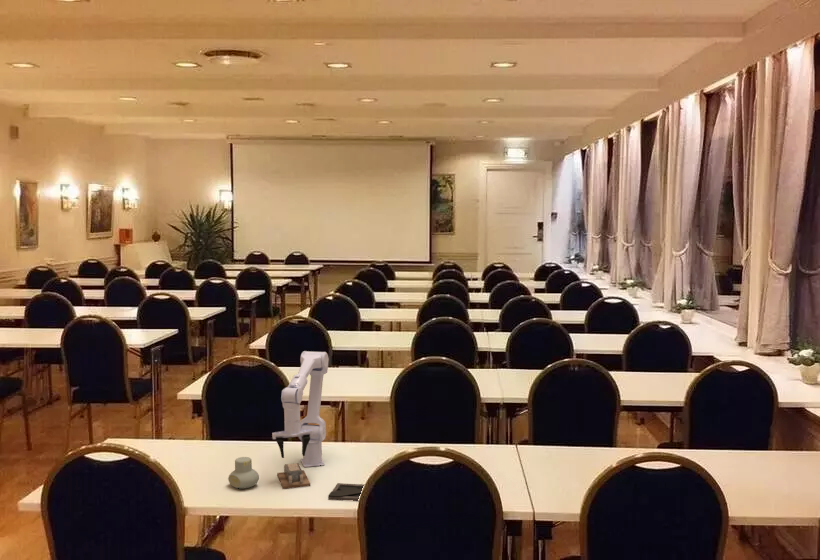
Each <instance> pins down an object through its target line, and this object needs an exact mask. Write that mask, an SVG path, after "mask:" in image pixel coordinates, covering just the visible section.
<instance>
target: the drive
mask: <svg viewBox="0 0 820 560" xmlns="http://www.w3.org/2000/svg"><path fill="white" fill-rule="evenodd" d="M284 465H285V476H286V478H287V480H288V483H289V476H292V483H293V482H300V475H301V474H302V470H303V469H302V468H301V466H300V464H299V462H296V463H294V462H293V463H288V464H287V463H286V464H285V463H284Z"/></svg>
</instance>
